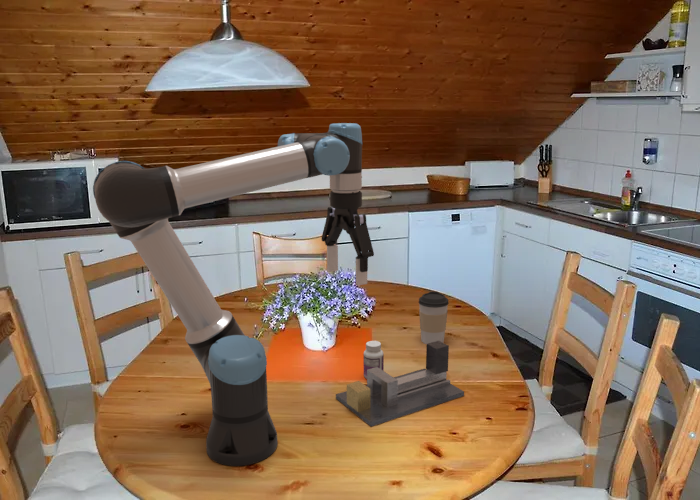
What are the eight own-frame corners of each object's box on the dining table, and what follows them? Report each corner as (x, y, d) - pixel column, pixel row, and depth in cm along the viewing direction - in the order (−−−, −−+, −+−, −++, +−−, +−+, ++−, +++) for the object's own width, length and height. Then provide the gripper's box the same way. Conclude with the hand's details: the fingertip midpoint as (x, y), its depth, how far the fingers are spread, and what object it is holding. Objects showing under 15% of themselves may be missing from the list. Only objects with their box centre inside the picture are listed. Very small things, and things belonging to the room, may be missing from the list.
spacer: (370, 408, 146) (358, 412, 144) (358, 399, 150) (346, 403, 148) (370, 388, 145) (358, 392, 143) (358, 380, 149) (346, 384, 147)
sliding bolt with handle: (437, 375, 162) (438, 340, 159) (447, 381, 159) (448, 345, 156) (387, 390, 154) (388, 353, 151) (397, 397, 150) (397, 359, 148)
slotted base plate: (424, 372, 167) (425, 346, 166) (464, 395, 154) (465, 368, 152) (335, 398, 153) (335, 370, 151) (371, 426, 140) (371, 396, 138)
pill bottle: (371, 370, 169) (371, 337, 166) (387, 376, 166) (387, 342, 163) (359, 377, 165) (359, 344, 162) (375, 383, 161) (375, 348, 159)
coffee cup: (447, 347, 184) (448, 300, 180) (417, 345, 185) (417, 298, 182) (447, 336, 193) (448, 290, 189) (418, 334, 194) (419, 289, 190)
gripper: (389, 195, 135) (388, 287, 140) (333, 183, 156) (334, 263, 161) (360, 198, 131) (361, 293, 136) (307, 185, 152) (308, 267, 157)
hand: (346, 277), depth 149 cm, fingers open, 13 cm apart
